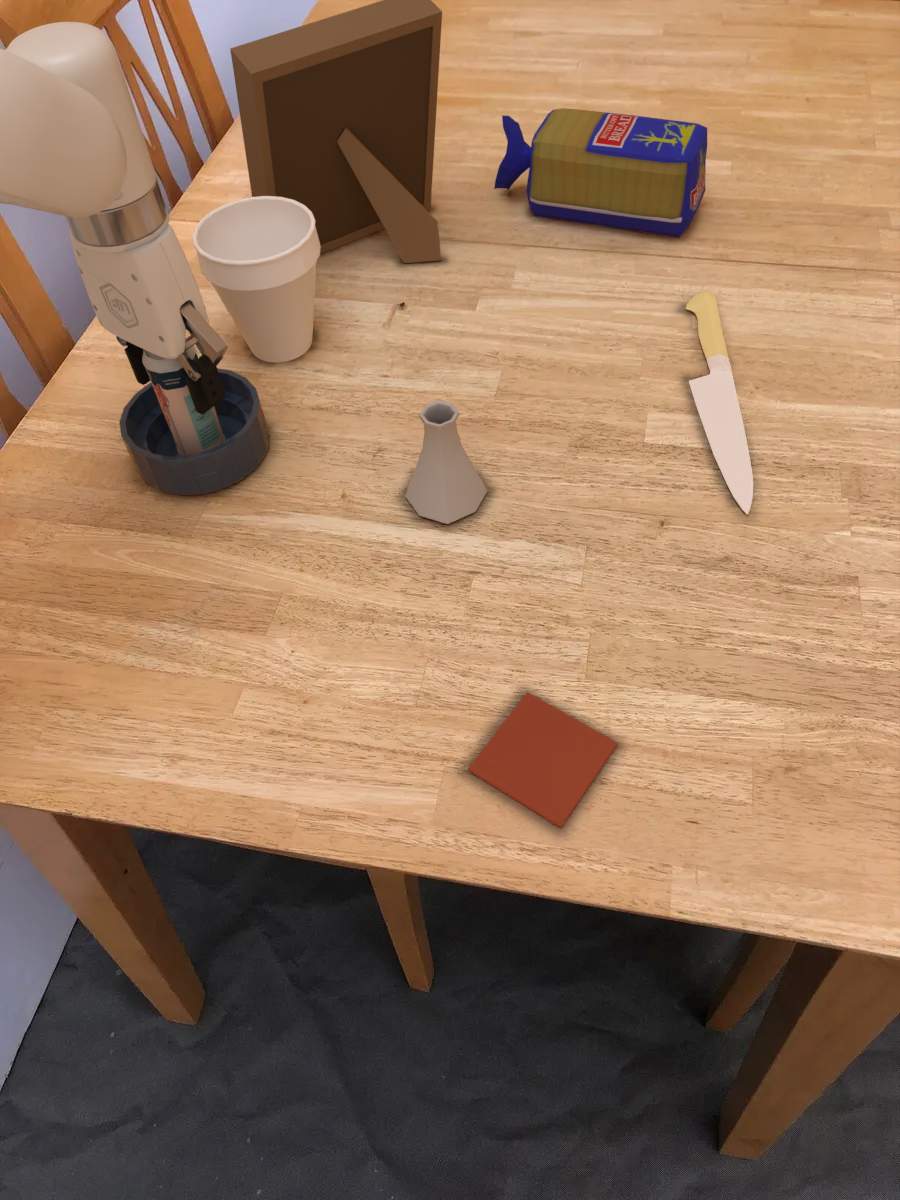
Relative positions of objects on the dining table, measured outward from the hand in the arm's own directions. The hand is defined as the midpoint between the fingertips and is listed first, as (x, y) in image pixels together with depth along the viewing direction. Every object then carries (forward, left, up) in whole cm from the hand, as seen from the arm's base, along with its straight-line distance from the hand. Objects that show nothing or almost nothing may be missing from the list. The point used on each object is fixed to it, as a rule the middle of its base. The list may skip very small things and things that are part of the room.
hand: (181, 389), depth 85 cm
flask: (+8, -24, -8) cm, 26 cm away
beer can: (0, 0, -7) cm, 7 cm away
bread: (+58, -11, -8) cm, 60 cm away
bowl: (0, 0, -8) cm, 8 cm away
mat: (-10, -46, -8) cm, 48 cm away
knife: (+33, -39, -8) cm, 52 cm away
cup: (+17, +5, -8) cm, 19 cm away
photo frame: (+36, +8, -8) cm, 38 cm away
